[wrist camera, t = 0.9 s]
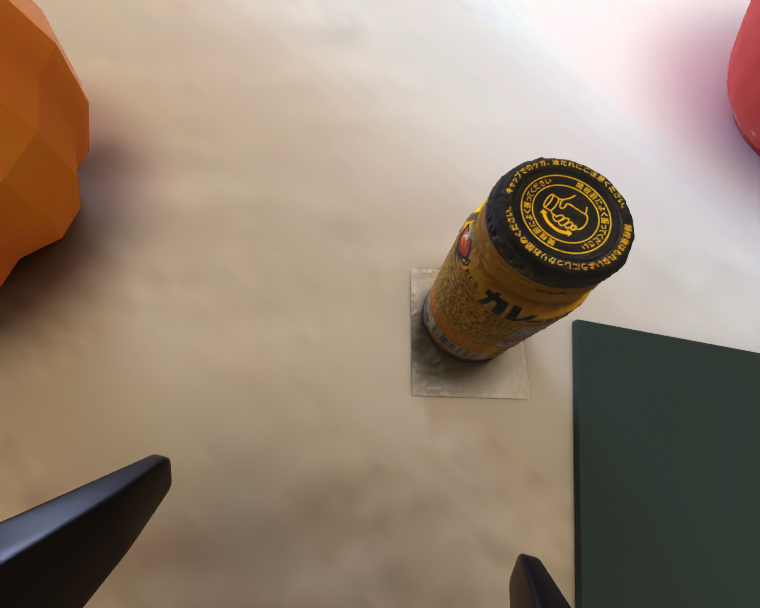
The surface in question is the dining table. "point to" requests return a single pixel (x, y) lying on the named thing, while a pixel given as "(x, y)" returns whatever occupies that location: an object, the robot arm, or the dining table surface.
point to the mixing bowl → (746, 77)
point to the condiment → (514, 277)
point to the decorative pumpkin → (37, 134)
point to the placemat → (665, 471)
